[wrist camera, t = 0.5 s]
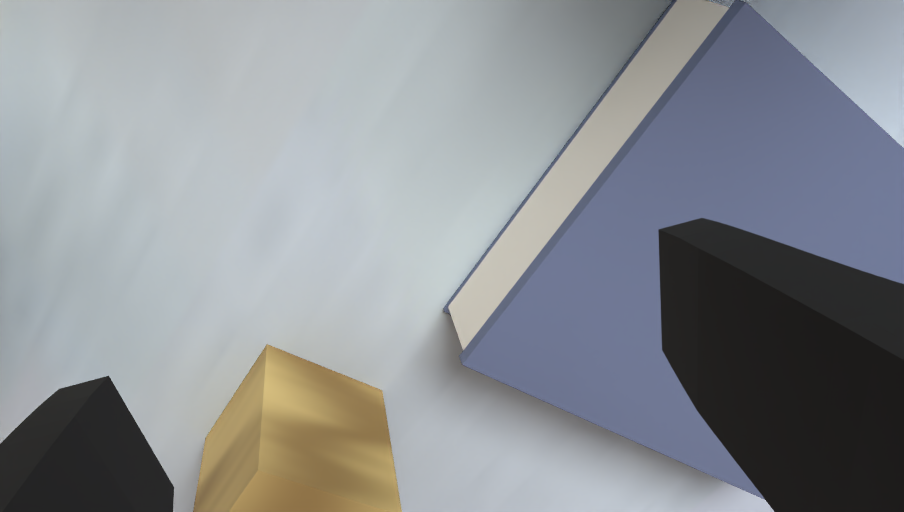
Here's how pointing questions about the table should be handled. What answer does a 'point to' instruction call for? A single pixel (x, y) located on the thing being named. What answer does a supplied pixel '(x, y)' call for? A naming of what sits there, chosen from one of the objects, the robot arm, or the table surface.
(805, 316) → the robot arm
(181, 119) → the table surface
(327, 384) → the mustard block
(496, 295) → the slate blue book
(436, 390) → the table surface
